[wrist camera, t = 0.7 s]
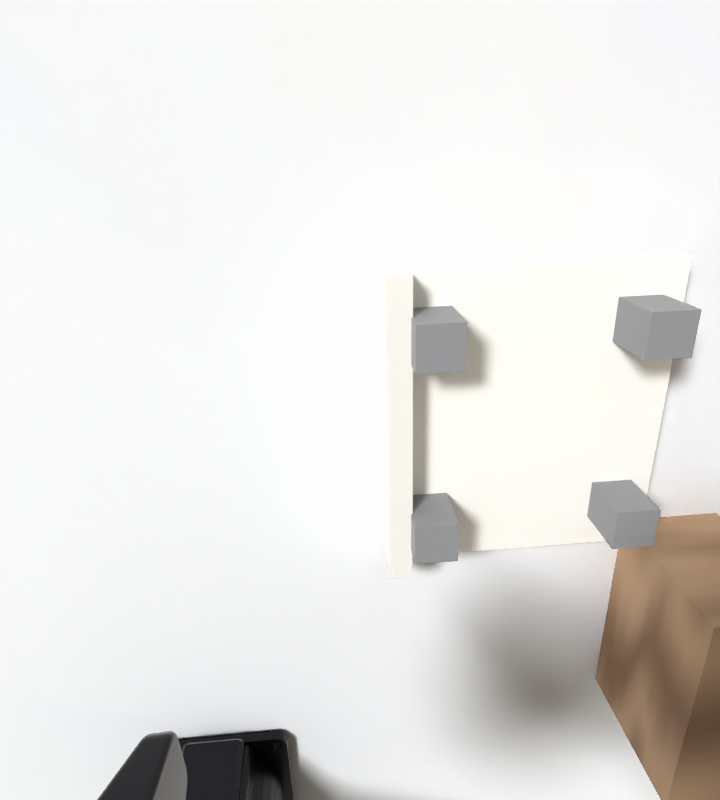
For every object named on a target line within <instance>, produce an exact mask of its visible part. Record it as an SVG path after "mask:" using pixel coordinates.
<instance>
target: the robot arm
mask: <svg viewBox="0 0 720 800" xmlns="http://www.w3.org/2000/svg"><path fill="white" fill-rule="evenodd" d="M98 800H295V796H294V788H293V780H292V771H291V763H290V755H289V747H288V739H287V736H286V734H285V733H283V732H280V731H273V732H262V733H251V734H240V735H230V736H219V737H208V738H197V739H187V740H178V737H177V735H176V734H175V733H174V732H171V731H169V732H161V733H153V734H149V735H147V736H145V737H144V738H143V739H142V740H141V741H140V742H139V744H138V745H137V747H136V748H135V749H134V751H133V752H132V753H131V755H130V756H129V757H128V759H127V760H126V762H125V763H124V764H123V766H122V767H121V768H120V770H119V771H118V772H117V774H116V775H115V777H114V778H113V779H112V781H111V782H110V783H109V785H108V786H107V787H106V789H105V790H104V791H103V793H102V794H101V796H100V797H99V798H98Z"/></svg>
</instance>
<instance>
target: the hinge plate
mask: <svg viewBox="0 0 720 800" xmlns="http://www.w3.org/2000/svg"><path fill="white" fill-rule="evenodd" d="M692 257H693V254H689V253H685V252H681V251H677V250H674V249H660V250H639V251H618V252H597V253H576V254H555V255H534V256H513V257H492V258H472V259H451V260H430V261H409V262H388V263H377V275H378V320H379V366H380V411H381V457H382V502H383V540H384V545H385V551H386V556H387V562H388V567H389V572H390V578H391V579H398V578H411V577H412V556H413V559H414V563H415V564H424V563H437V562H449V561H458V552H471V551H484V550H497V549H510V548H523V547H536V546H549V545H562V544H575V543H588V542H601V541H606V542H607V543H608V544H609V545H610V547H611V548H612V549H617V548H629V547H642V546H653V545H654V540H655V535H656V530H657V525H658V520H659V515H660V511H661V510H660V509H659V508H658V507H657V506H656V505H655V504H654V503H653V502H652V500H651V499H650V498H649V497H648V496H647V493H648V488H649V483H650V477H651V472H652V467H653V462H654V456H655V451H656V446H657V441H658V435H659V430H660V425H661V420H662V414H663V409H664V404H665V399H666V393H667V388H668V383H669V378H670V372H671V367H672V362H673V359H679V358H692V354H693V349H694V344H695V339H696V334H697V329H698V324H699V319H700V314H701V309H699V308H696V307H694V306H691V305H689V304H686V303H684V299H685V294H686V288H687V283H688V278H689V273H690V267H691V262H692Z"/></svg>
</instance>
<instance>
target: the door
mask: <svg viewBox="0 0 720 800" xmlns="http://www.w3.org/2000/svg"><path fill="white" fill-rule="evenodd" d="M596 680H597V682H598V684H599V686H600V688H601V689H602V691H603V693H604V695H605V697H606V699H607V701H608V702H609V704H610V706H611V708H612V710H613V712H614V714H615V715H616V717H617V719H618V721H619V723H620V725H621V726H622V728H623V730H624V732H625V734H626V736H627V738H628V739H629V741H630V743H631V745H632V747H633V749H634V750H635V752H636V754H637V756H638V758H639V760H640V762H641V763H642V765H643V767H644V769H645V771H646V773H647V775H648V776H649V778H650V780H651V782H652V784H653V786H654V787H655V789H656V791H657V793H658V795H659V797H660V799H661V800H720V516H718V515H717V514H716V513H713V514H699V515H686V516H673V517H660V518H659V520H658V525H657V530H656V535H655V540H654V545H653V546H642V547H629V548H618V552H617V558H616V564H615V569H614V575H613V581H612V587H611V592H610V598H609V604H608V610H607V615H606V621H605V627H604V632H603V638H602V644H601V650H600V655H599V661H598V667H597V673H596Z"/></svg>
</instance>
